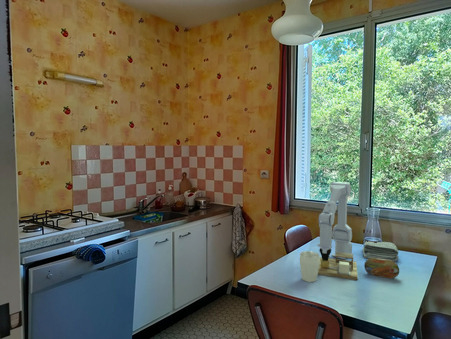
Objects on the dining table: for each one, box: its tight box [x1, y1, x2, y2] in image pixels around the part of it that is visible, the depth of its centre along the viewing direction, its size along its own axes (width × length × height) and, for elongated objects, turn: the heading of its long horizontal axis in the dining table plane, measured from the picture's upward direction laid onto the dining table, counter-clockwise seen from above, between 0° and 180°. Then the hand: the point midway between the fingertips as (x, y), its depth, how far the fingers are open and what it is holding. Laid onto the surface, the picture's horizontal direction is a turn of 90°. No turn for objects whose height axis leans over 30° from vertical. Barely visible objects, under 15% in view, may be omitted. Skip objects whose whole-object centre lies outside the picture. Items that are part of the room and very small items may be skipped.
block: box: [339, 261, 349, 273], centre depth 148 cm, size 4×4×4 cm
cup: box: [299, 250, 320, 283], centre depth 143 cm, size 9×9×12 cm
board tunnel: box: [317, 252, 359, 281], centre depth 157 cm, size 22×19×8 cm
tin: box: [363, 258, 400, 279], centre depth 148 cm, size 15×3×8 cm, turn 62°
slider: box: [321, 260, 351, 275], centre depth 150 cm, size 6×14×4 cm, turn 68°
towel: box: [362, 240, 399, 262], centre depth 178 cm, size 15×18×8 cm
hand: (325, 263), depth 155 cm, fingers closed
